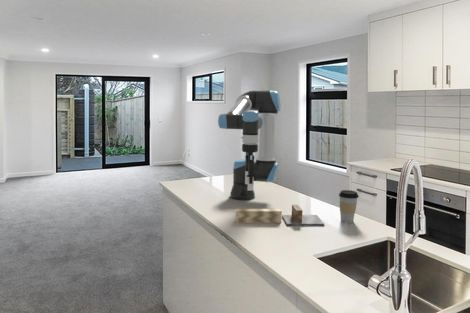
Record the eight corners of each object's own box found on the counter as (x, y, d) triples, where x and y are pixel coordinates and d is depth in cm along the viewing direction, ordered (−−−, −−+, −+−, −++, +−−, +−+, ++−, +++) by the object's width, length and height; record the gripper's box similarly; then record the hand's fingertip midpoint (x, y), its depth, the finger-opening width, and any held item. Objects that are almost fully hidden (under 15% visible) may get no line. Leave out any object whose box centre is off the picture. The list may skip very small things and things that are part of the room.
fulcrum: (287, 225, 180) (287, 211, 179) (281, 216, 194) (282, 203, 193) (324, 225, 181) (325, 211, 180) (316, 216, 195) (317, 203, 194)
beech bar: (236, 223, 184) (236, 211, 183) (235, 220, 188) (236, 208, 187) (281, 223, 185) (281, 211, 184) (279, 220, 189) (280, 208, 188)
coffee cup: (341, 217, 195) (342, 188, 193) (359, 220, 190) (361, 191, 188) (334, 221, 187) (336, 192, 185) (353, 225, 182) (355, 195, 180)
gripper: (240, 140, 192) (239, 181, 195) (244, 146, 168) (243, 193, 171) (255, 141, 193) (253, 181, 196) (261, 146, 168) (259, 193, 171)
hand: (249, 187), depth 183 cm, fingers open, 13 cm apart
